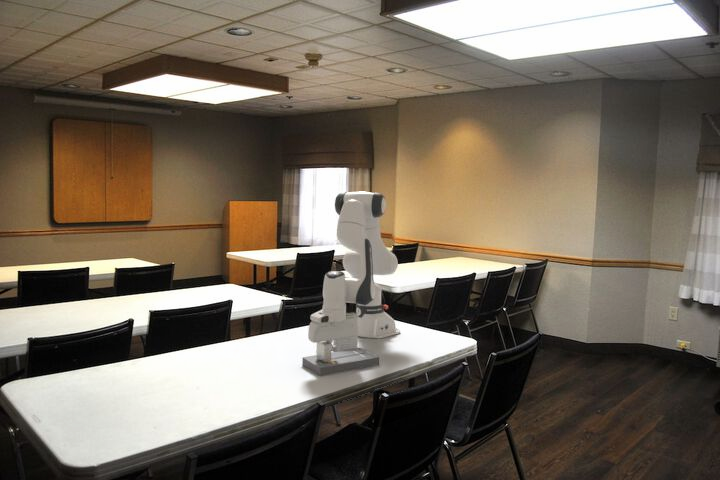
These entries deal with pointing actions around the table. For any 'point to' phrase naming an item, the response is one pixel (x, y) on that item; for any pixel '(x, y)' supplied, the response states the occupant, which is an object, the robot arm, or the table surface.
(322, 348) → the fader
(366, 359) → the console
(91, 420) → the table surface
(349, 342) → the photo printer
